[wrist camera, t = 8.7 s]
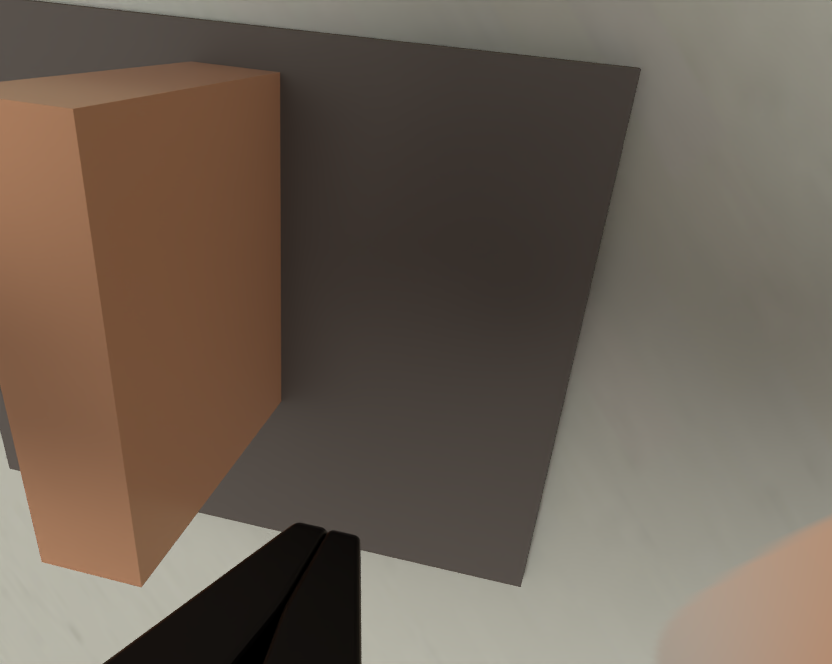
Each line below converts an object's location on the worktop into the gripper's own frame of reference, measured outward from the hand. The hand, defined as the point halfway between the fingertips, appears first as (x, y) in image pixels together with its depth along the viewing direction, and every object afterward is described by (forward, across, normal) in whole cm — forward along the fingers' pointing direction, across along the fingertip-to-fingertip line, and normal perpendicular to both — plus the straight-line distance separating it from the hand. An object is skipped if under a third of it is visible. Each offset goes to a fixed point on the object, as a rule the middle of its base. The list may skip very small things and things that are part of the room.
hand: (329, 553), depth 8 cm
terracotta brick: (+9, +6, 0) cm, 11 cm away
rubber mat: (+10, +6, +2) cm, 11 cm away
